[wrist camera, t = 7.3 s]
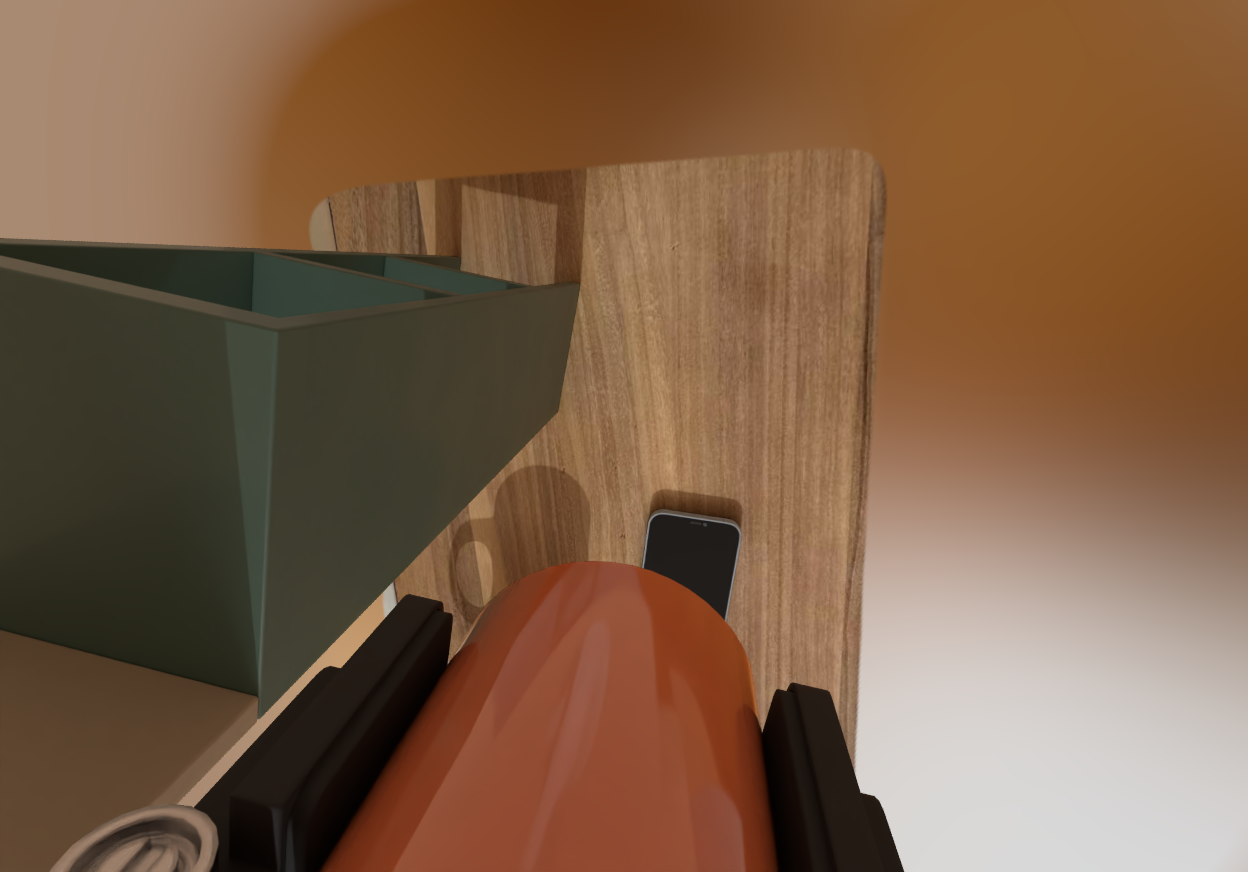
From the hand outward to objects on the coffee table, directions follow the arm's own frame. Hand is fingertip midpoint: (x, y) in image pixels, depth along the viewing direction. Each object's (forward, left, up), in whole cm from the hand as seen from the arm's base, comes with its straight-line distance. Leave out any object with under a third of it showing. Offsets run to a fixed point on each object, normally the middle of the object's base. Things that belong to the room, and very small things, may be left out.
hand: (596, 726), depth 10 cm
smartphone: (+19, +5, -39) cm, 44 cm away
